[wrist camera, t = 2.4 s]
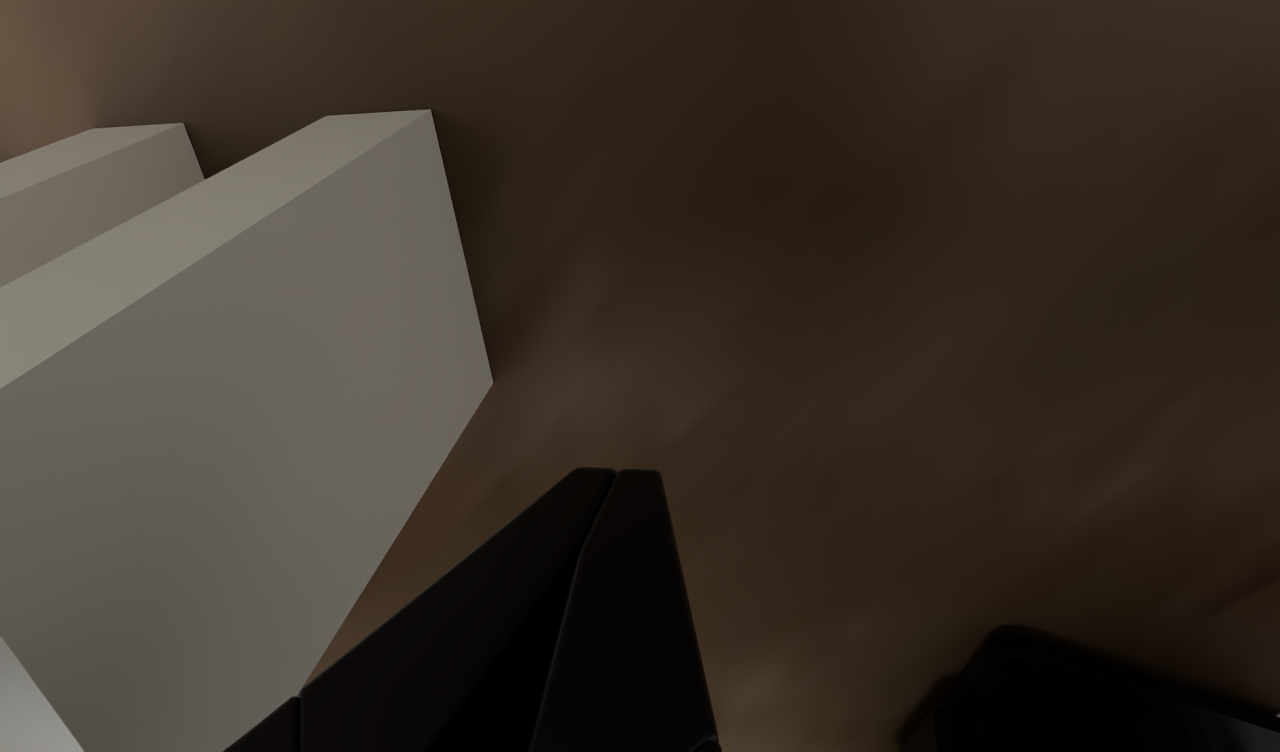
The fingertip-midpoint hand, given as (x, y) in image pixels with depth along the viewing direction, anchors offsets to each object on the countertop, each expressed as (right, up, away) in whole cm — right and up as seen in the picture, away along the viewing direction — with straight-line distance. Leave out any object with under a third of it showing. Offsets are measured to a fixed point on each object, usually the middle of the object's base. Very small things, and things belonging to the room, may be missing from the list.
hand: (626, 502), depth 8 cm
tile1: (-4, +3, +6) cm, 8 cm away
